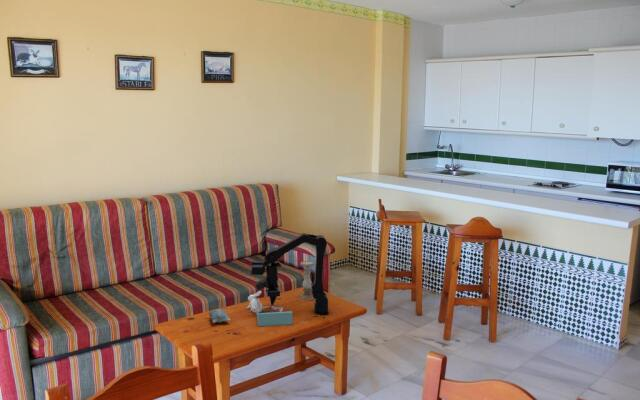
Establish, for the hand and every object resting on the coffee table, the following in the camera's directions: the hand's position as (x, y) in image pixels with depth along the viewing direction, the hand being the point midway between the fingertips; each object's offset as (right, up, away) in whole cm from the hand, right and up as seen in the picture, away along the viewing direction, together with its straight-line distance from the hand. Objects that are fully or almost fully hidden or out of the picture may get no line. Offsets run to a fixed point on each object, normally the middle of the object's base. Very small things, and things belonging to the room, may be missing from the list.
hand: (272, 304), depth 279 cm
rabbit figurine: (-8, -4, +5) cm, 11 cm away
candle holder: (+17, -1, +24) cm, 29 cm away
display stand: (+2, -6, -11) cm, 12 cm away
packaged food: (-22, -8, -13) cm, 27 cm away
